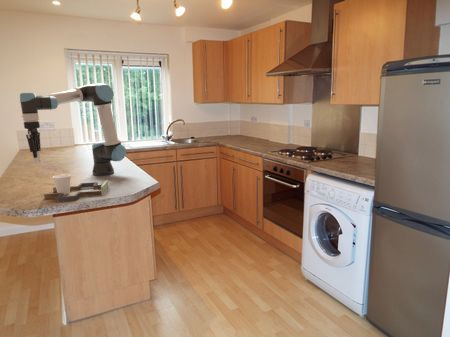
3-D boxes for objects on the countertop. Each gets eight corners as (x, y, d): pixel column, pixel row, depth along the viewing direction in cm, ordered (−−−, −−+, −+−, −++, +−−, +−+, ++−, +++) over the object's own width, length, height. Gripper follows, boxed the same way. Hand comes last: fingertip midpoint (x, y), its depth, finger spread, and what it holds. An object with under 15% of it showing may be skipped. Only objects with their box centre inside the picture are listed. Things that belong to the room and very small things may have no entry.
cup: (51, 195, 193) (48, 176, 190) (67, 190, 201) (64, 173, 198) (60, 197, 187) (58, 178, 185) (76, 193, 195) (74, 175, 193)
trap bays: (72, 187, 208) (72, 183, 208) (98, 185, 211) (97, 182, 210) (56, 201, 180) (56, 197, 179) (86, 199, 182) (85, 195, 181)
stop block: (106, 188, 205) (106, 180, 203) (108, 188, 205) (108, 180, 204) (101, 195, 190) (100, 186, 189) (103, 195, 190) (102, 186, 189)
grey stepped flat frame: (54, 191, 200) (53, 187, 200) (106, 188, 205) (106, 184, 204) (44, 198, 185) (43, 194, 185) (101, 195, 190) (101, 191, 189)
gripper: (29, 120, 189) (35, 160, 194) (18, 122, 176) (25, 165, 181) (43, 120, 190) (48, 160, 195) (33, 121, 177) (39, 164, 182)
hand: (37, 162), depth 188 cm, fingers closed
